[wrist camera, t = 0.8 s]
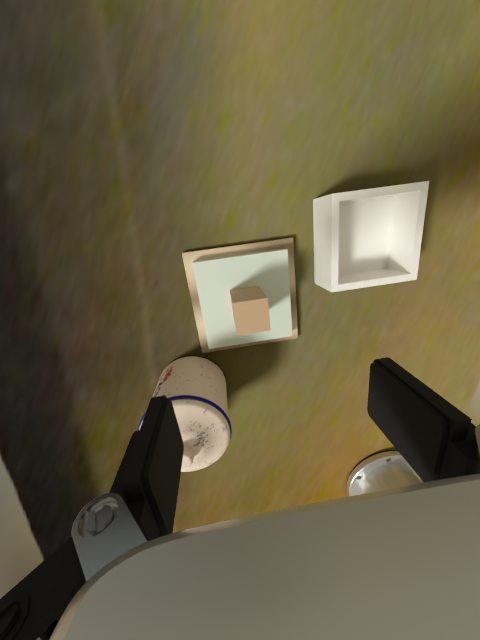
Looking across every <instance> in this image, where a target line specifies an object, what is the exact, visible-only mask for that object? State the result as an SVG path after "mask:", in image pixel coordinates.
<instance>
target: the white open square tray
mask: <svg viewBox="0 0 480 640" xmlns="http://www.w3.org/2000/svg"><path fill="white" fill-rule="evenodd" d="M428 187H429V181H424V182H416V183H409V184H401V185H394V186H386V187H379V188H371V189H364V190H356V191H349V192H341V193H334V194H329V195H326V196H323V197H320V198H316V199H313V224H314V274H315V284H317V285H319V286H321V287H322V288H324V289H326V290H328V291H330V292H337V291H344V290H350V289H357V288H364V287H370V286H377V285H384V284H390V283H397V282H404V281H410V280H417V273H418V265H419V257H420V249H421V242H422V234H423V226H424V218H425V210H426V203H427V195H428Z"/></svg>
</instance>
